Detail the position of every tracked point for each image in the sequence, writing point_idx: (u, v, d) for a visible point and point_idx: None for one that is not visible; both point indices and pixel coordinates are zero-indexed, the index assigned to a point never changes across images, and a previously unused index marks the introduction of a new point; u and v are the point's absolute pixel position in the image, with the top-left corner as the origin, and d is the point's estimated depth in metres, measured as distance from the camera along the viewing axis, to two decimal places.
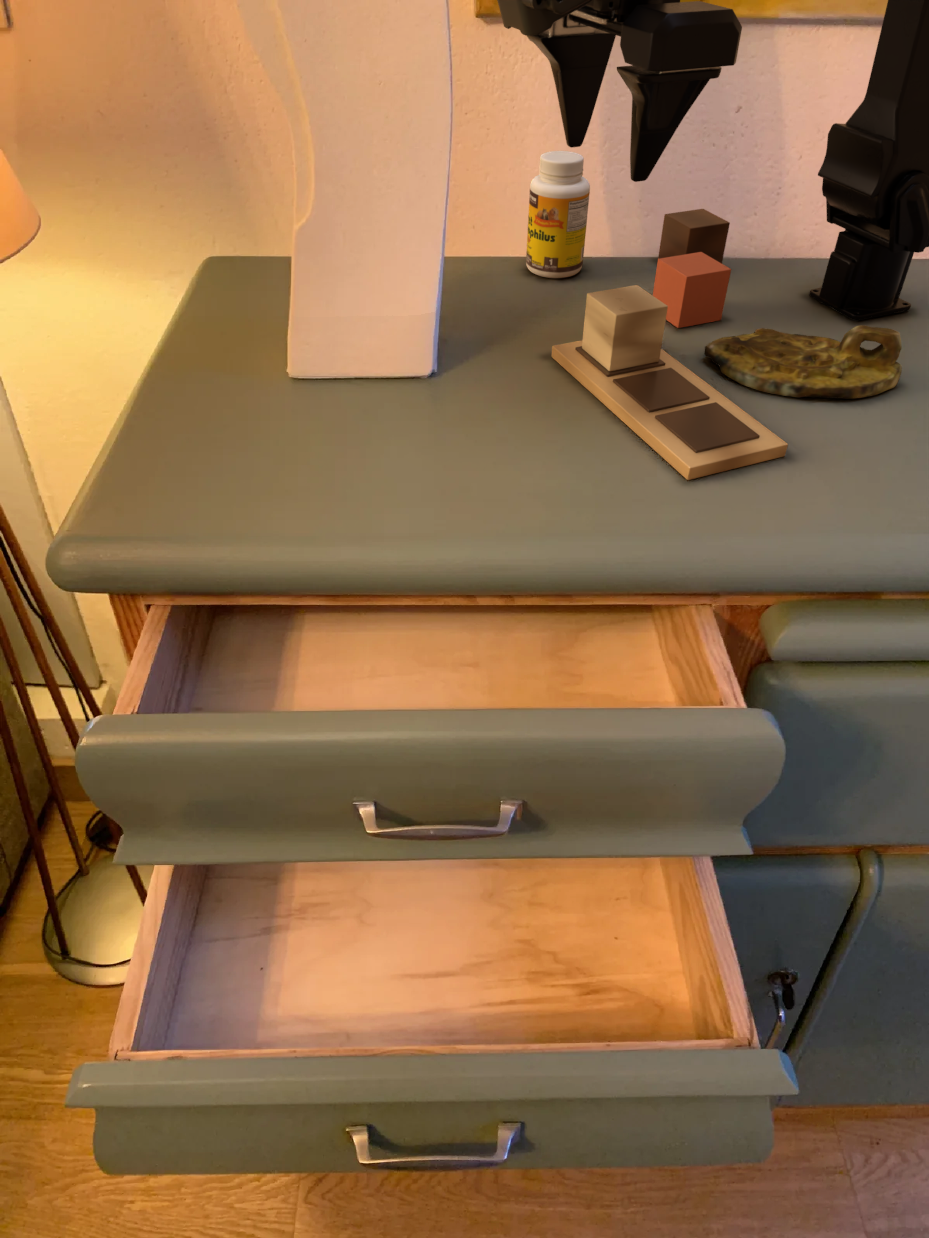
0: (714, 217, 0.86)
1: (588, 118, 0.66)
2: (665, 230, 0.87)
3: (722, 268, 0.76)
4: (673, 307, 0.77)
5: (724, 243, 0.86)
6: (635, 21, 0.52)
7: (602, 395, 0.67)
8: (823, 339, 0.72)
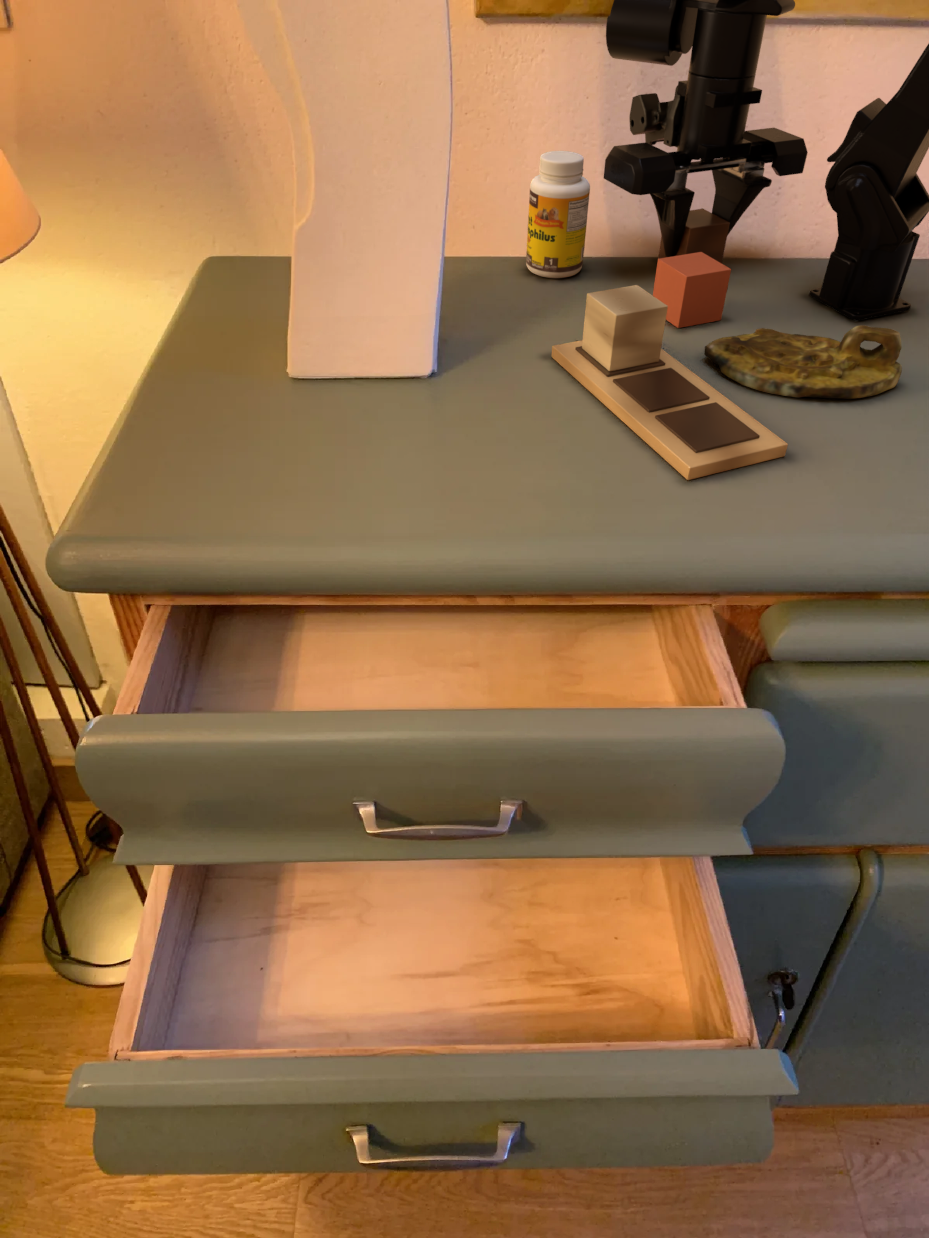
0: (714, 217, 0.86)
1: None
2: None
3: (722, 268, 0.76)
4: (673, 307, 0.77)
5: (724, 243, 0.86)
6: None
7: (602, 395, 0.67)
8: (823, 339, 0.72)
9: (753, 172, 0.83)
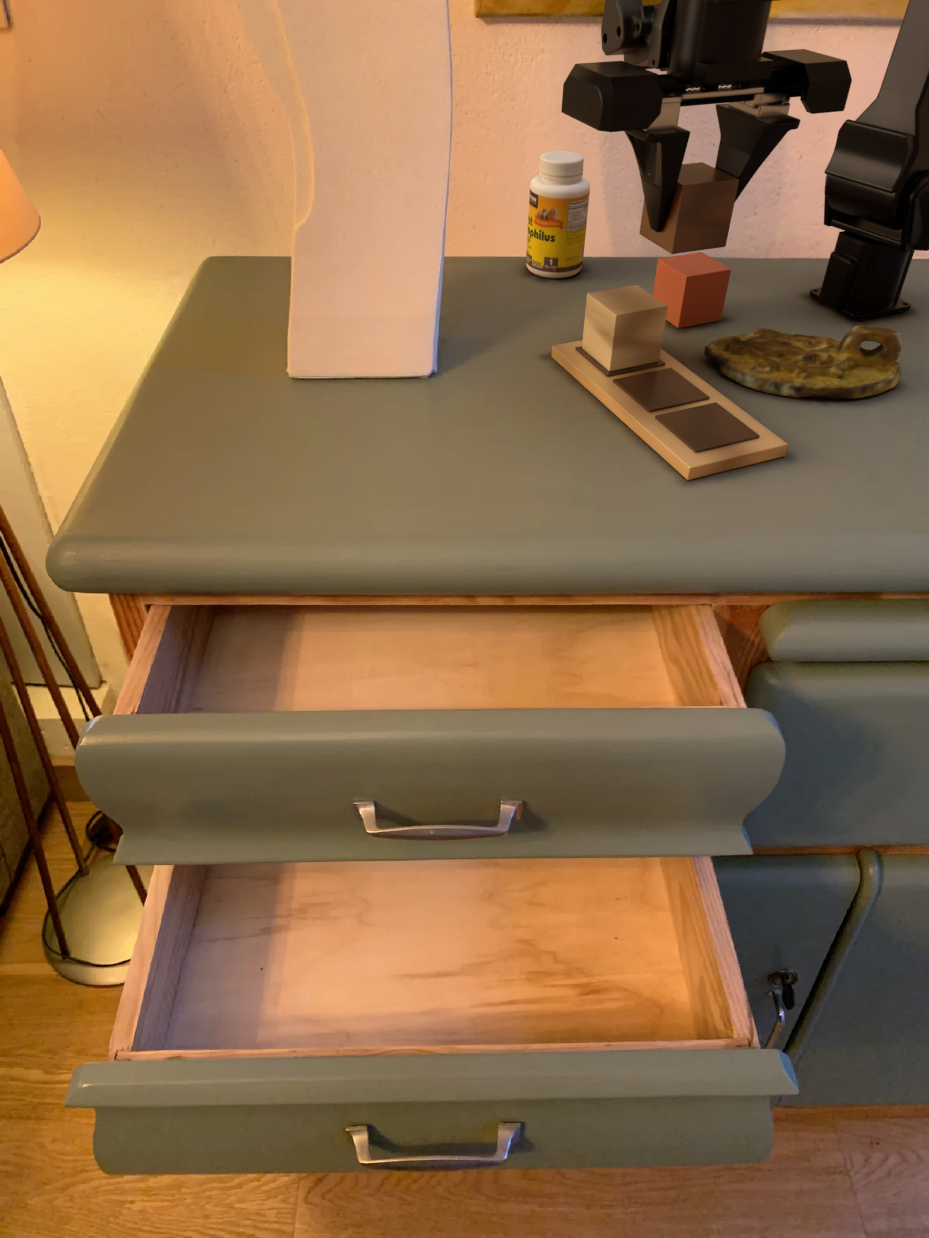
0: (718, 172, 0.61)
1: None
2: None
3: (722, 268, 0.76)
4: (673, 307, 0.77)
5: (731, 209, 0.62)
6: None
7: (602, 395, 0.67)
8: (823, 339, 0.72)
9: (774, 108, 0.59)
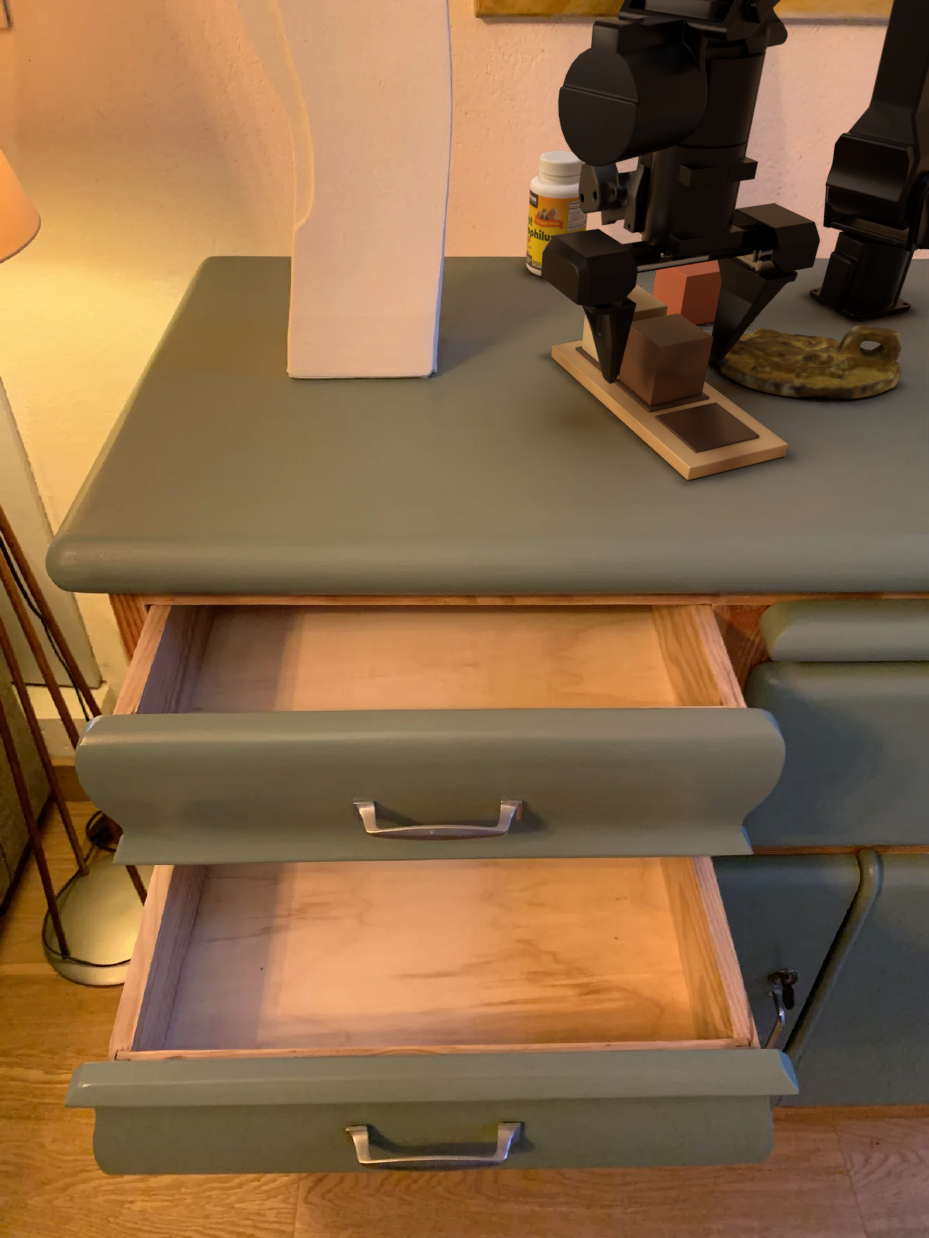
0: (693, 327, 0.64)
1: (726, 341, 0.65)
2: (627, 343, 0.65)
3: None
4: (673, 307, 0.77)
5: (706, 362, 0.64)
6: None
7: (602, 395, 0.67)
8: (823, 339, 0.72)
9: (772, 262, 0.62)
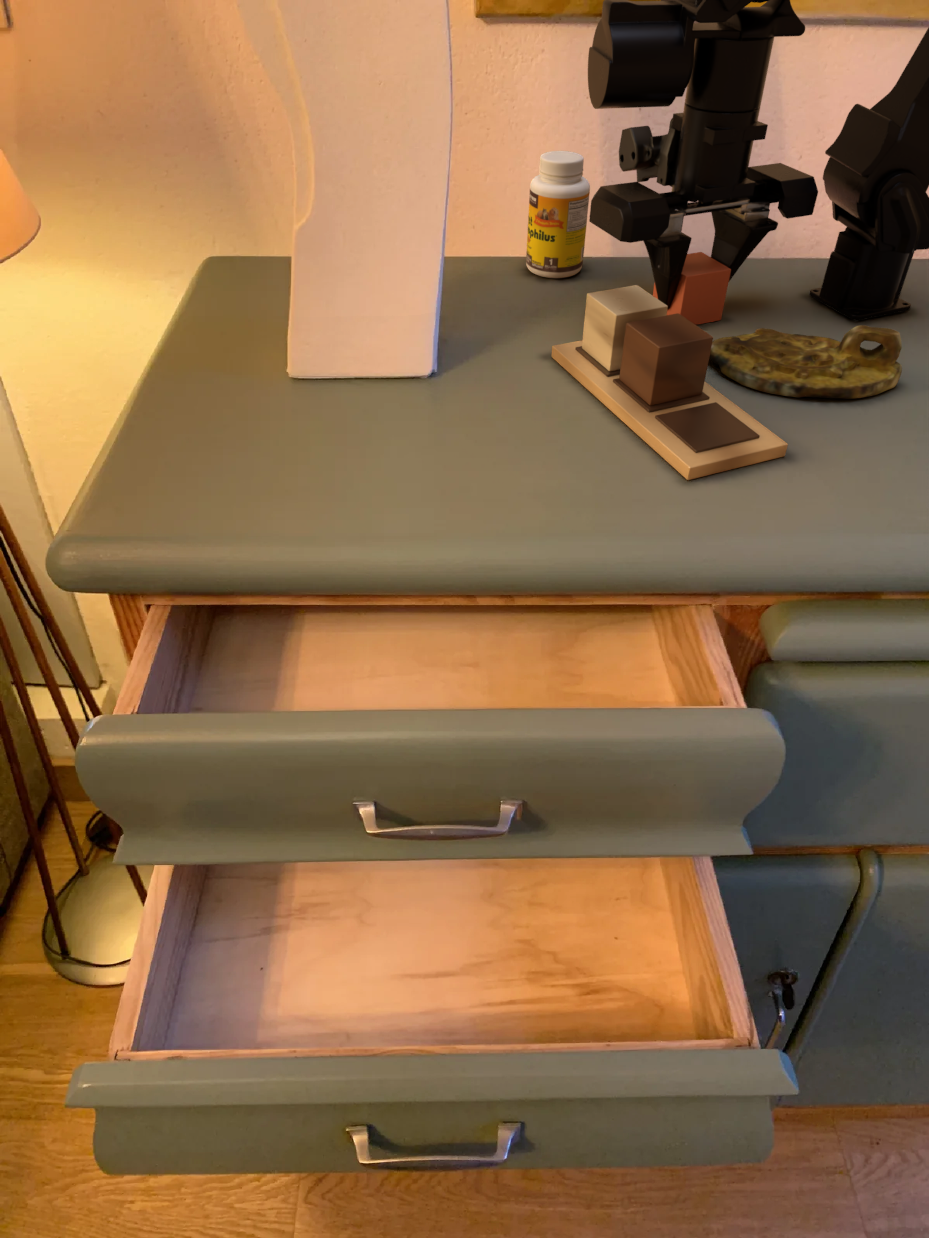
0: (693, 327, 0.64)
1: None
2: (627, 343, 0.65)
3: (722, 268, 0.76)
4: (673, 307, 0.77)
5: (706, 362, 0.64)
6: None
7: (602, 395, 0.67)
8: (823, 339, 0.72)
9: (757, 214, 0.74)
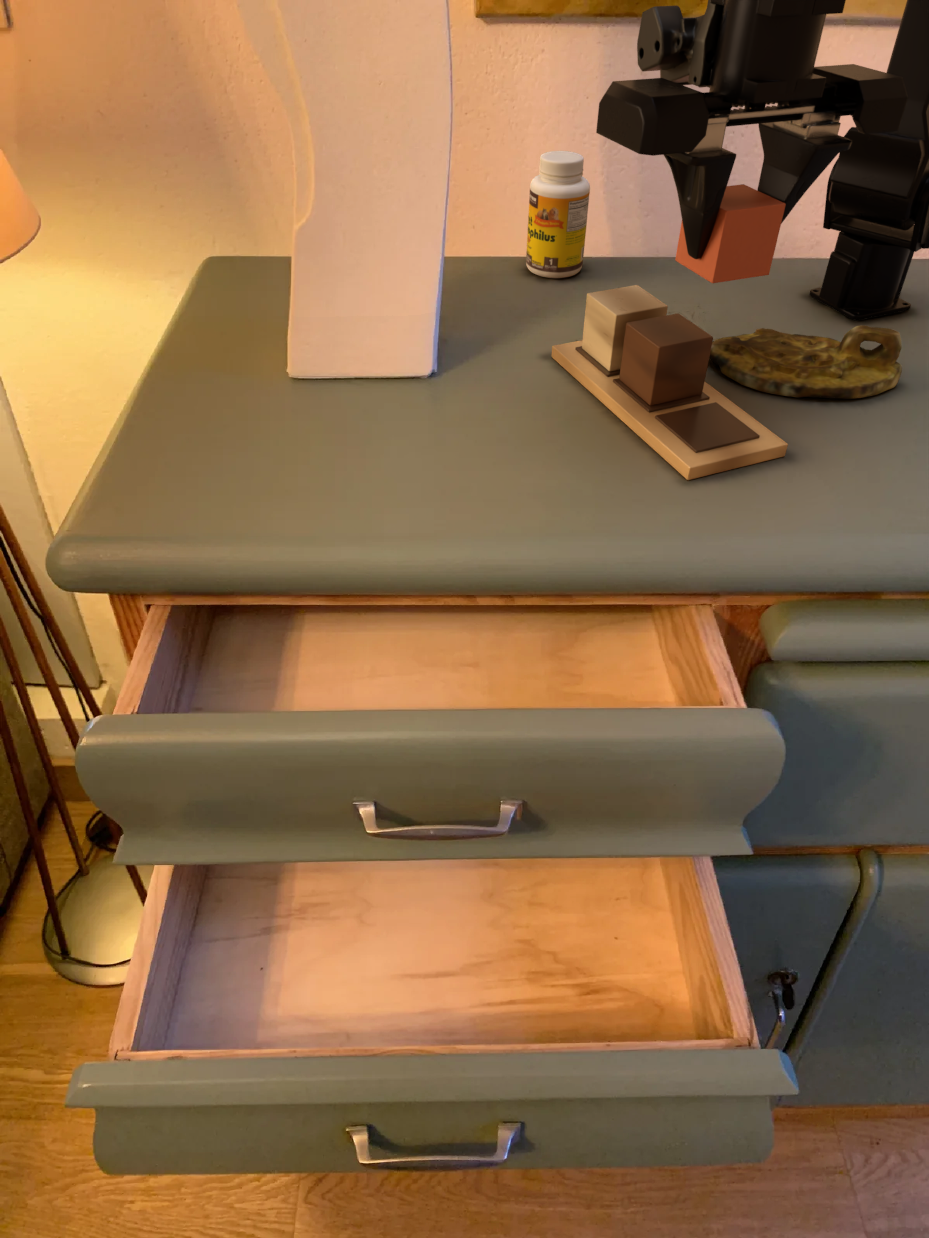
0: (693, 327, 0.64)
1: None
2: (627, 343, 0.65)
3: (774, 203, 0.56)
4: (706, 256, 0.58)
5: (706, 362, 0.64)
6: None
7: (602, 395, 0.67)
8: (823, 339, 0.72)
9: (824, 128, 0.55)
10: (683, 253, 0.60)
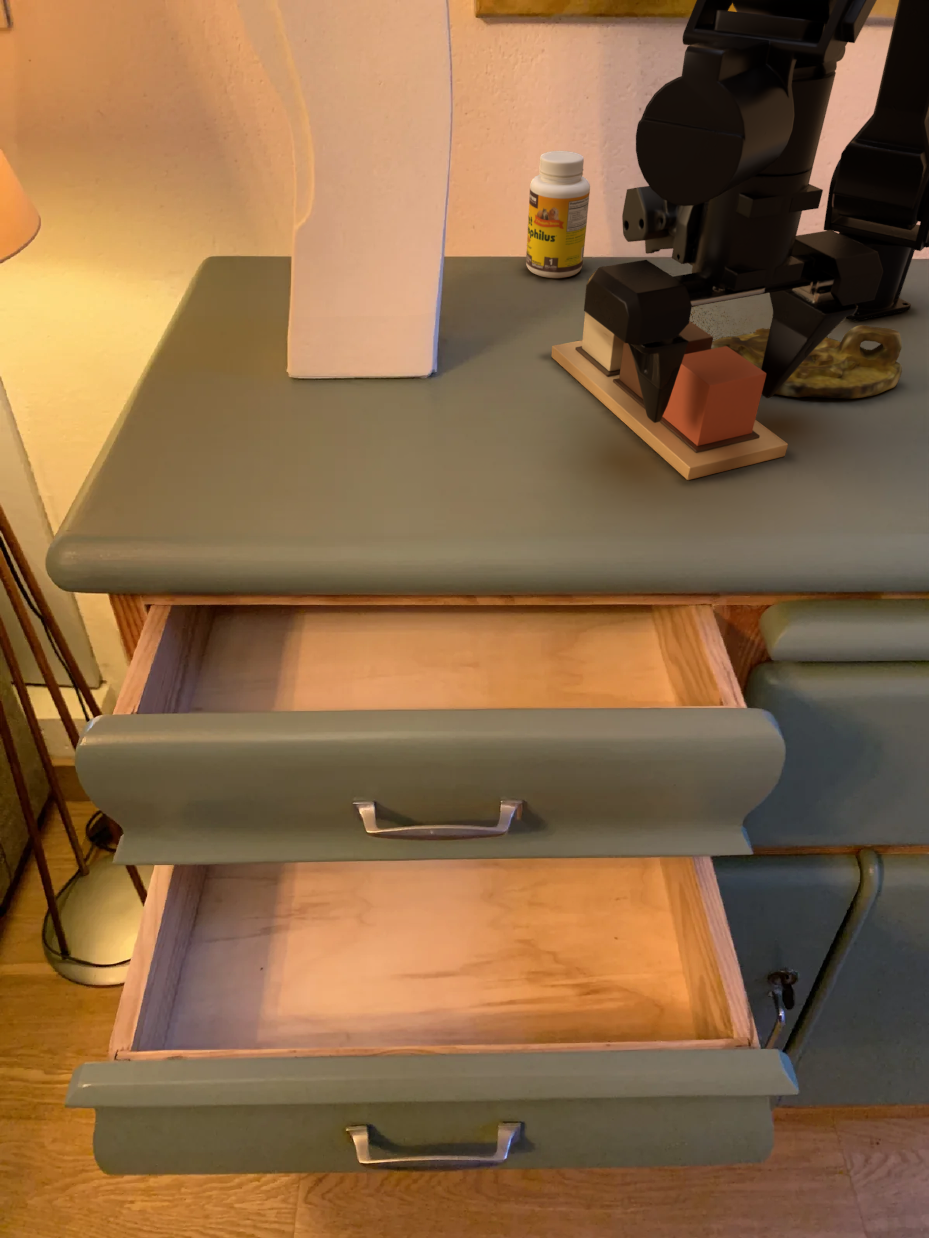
0: (693, 327, 0.64)
1: (777, 376, 0.61)
2: (627, 343, 0.65)
3: (755, 372, 0.59)
4: (691, 420, 0.60)
5: None
6: None
7: (602, 395, 0.67)
8: None
9: (831, 294, 0.58)
10: (669, 411, 0.62)
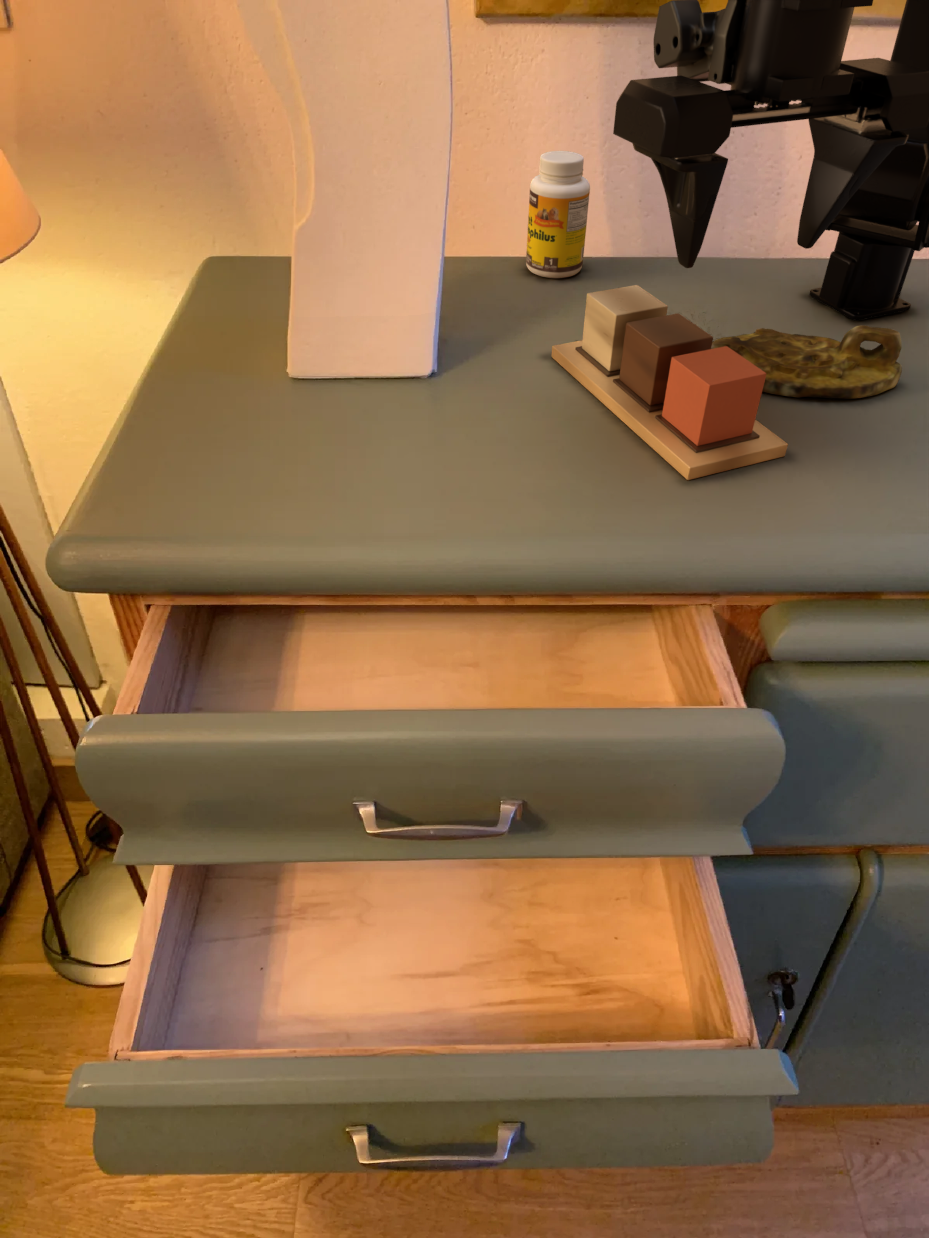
0: (693, 327, 0.64)
1: (818, 221, 0.57)
2: (627, 343, 0.65)
3: (755, 372, 0.59)
4: (691, 420, 0.60)
5: None
6: None
7: (602, 395, 0.67)
8: (823, 339, 0.72)
9: (879, 122, 0.53)
10: (669, 411, 0.62)
